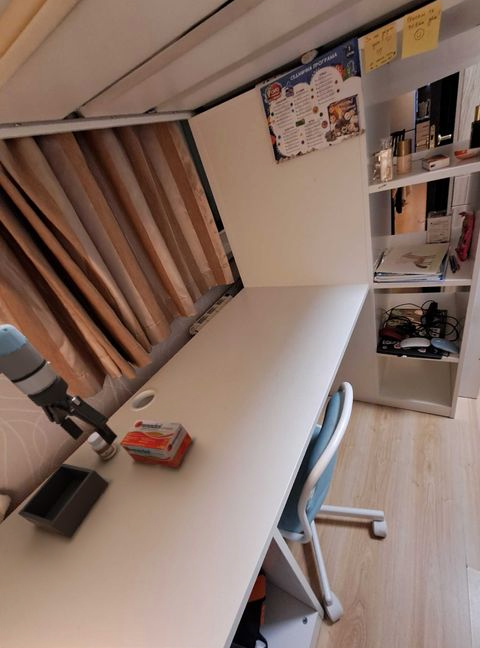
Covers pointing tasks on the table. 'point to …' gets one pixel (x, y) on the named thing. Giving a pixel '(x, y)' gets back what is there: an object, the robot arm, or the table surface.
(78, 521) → the basket
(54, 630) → the table surface
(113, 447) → the pill bottle
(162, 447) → the medicine box
